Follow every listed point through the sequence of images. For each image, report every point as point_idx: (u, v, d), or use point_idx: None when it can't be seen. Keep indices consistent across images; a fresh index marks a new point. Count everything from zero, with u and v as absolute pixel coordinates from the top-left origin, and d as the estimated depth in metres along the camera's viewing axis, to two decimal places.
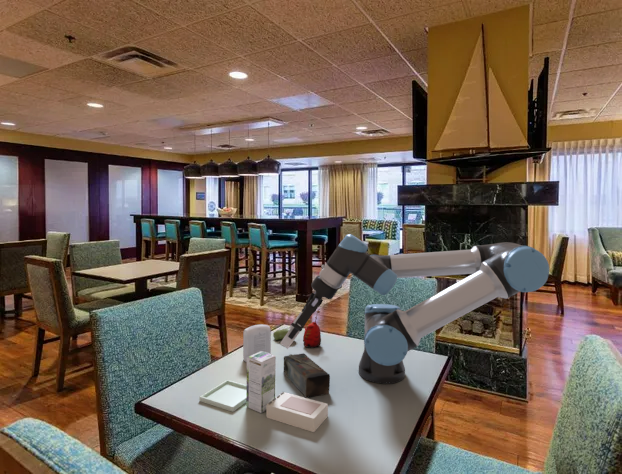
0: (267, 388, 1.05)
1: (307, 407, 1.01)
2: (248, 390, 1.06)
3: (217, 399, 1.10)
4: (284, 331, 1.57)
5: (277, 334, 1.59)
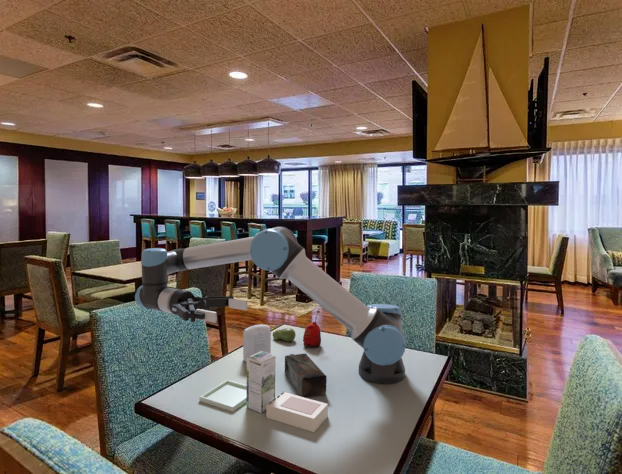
0: (267, 388, 1.05)
1: (307, 407, 1.01)
2: (248, 390, 1.06)
3: (217, 399, 1.10)
4: (283, 331, 1.57)
5: (276, 334, 1.59)
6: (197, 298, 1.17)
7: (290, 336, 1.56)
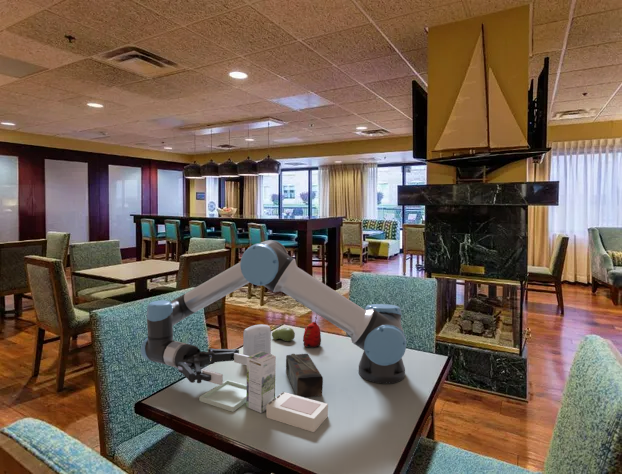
0: (267, 388, 1.05)
1: (307, 407, 1.01)
2: (248, 390, 1.06)
3: (217, 399, 1.10)
4: (283, 331, 1.57)
5: (276, 334, 1.59)
6: (203, 353, 1.18)
7: (289, 336, 1.56)
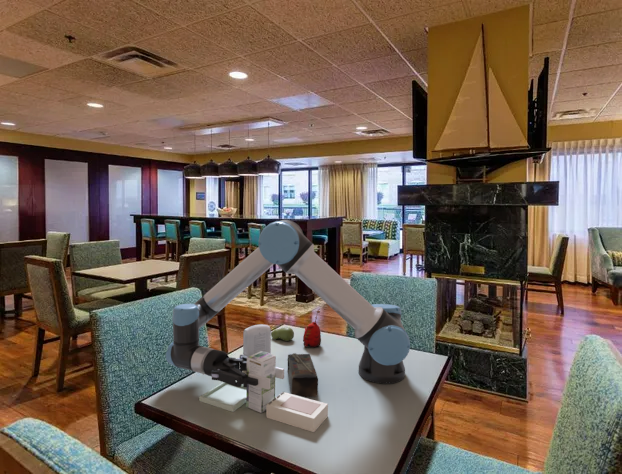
0: None
1: (307, 407, 1.01)
2: (248, 390, 1.06)
3: (217, 399, 1.10)
4: (282, 330, 1.58)
5: (275, 333, 1.59)
6: (231, 360, 1.13)
7: (288, 336, 1.56)
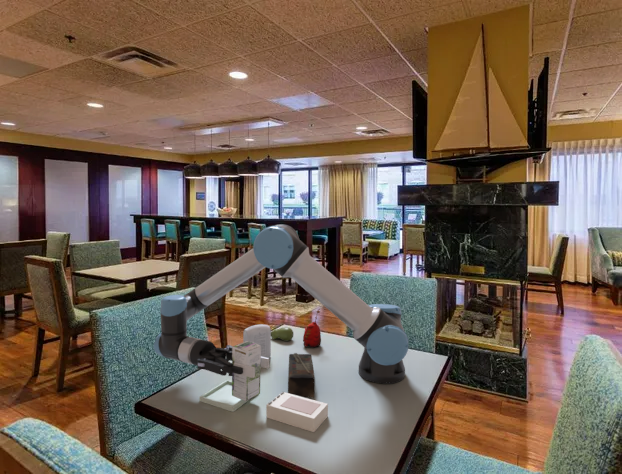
0: None
1: (307, 407, 1.01)
2: (233, 379, 1.08)
3: (217, 399, 1.10)
4: (282, 330, 1.58)
5: (274, 333, 1.60)
6: (218, 350, 1.14)
7: (288, 335, 1.57)
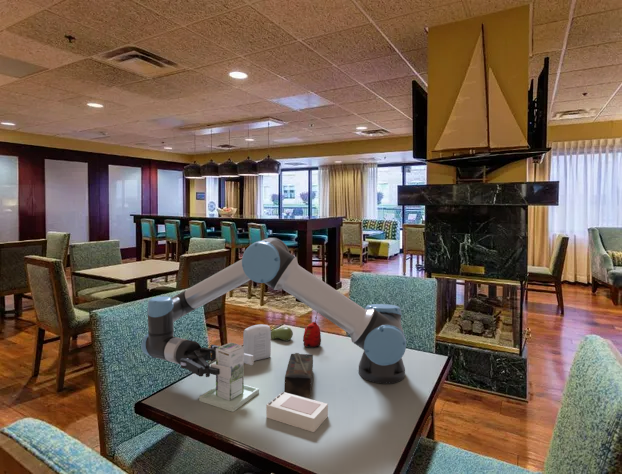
0: (235, 377, 1.10)
1: (307, 407, 1.01)
2: (217, 379, 1.11)
3: (217, 399, 1.10)
4: (281, 330, 1.58)
5: (274, 333, 1.60)
6: (203, 349, 1.18)
7: (287, 335, 1.57)
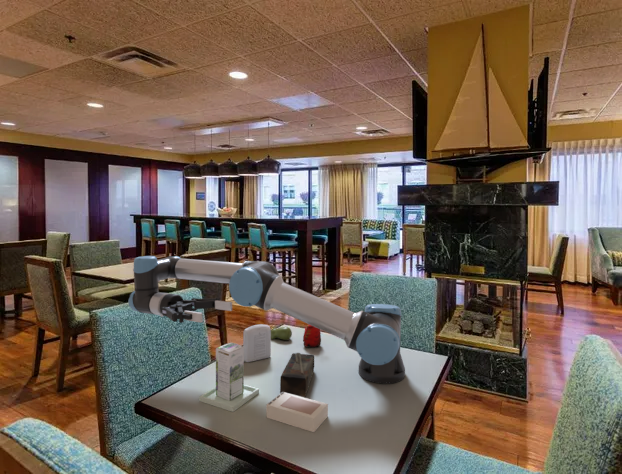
0: (235, 377, 1.10)
1: (307, 407, 1.01)
2: (217, 379, 1.11)
3: (217, 399, 1.10)
4: (280, 330, 1.59)
5: (273, 333, 1.60)
6: (185, 301, 1.27)
7: (287, 335, 1.58)
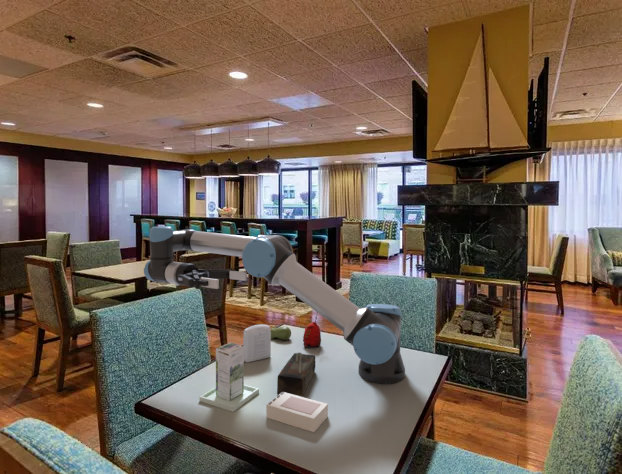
0: (235, 377, 1.10)
1: (307, 407, 1.01)
2: (217, 379, 1.11)
3: (217, 399, 1.10)
4: (280, 329, 1.59)
5: (272, 333, 1.60)
6: (201, 270, 1.29)
7: (286, 334, 1.58)
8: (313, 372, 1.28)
